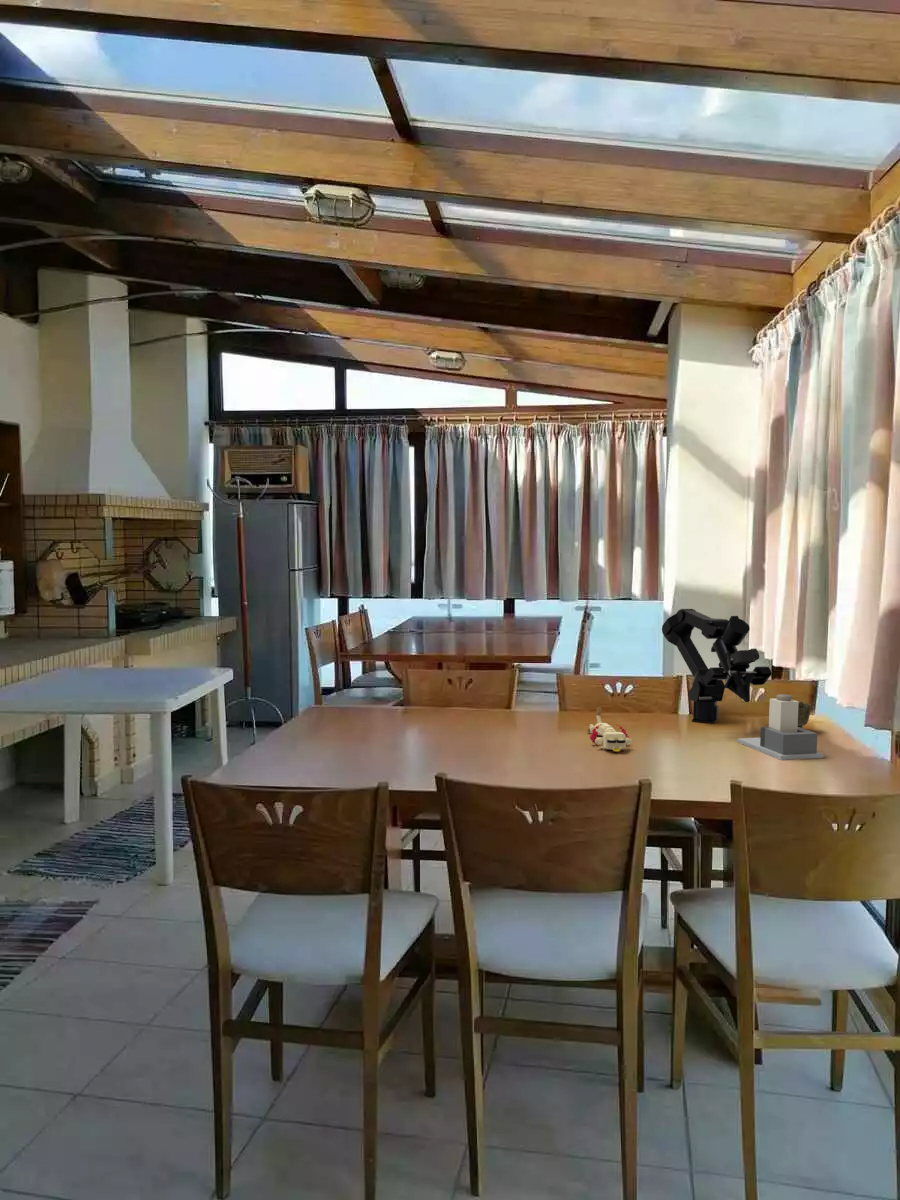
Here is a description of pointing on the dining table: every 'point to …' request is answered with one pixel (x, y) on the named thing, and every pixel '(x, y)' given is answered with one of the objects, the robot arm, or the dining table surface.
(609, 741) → the cream blocky figure
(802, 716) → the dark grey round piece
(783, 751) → the socket
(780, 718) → the beige block
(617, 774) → the dining table surface
